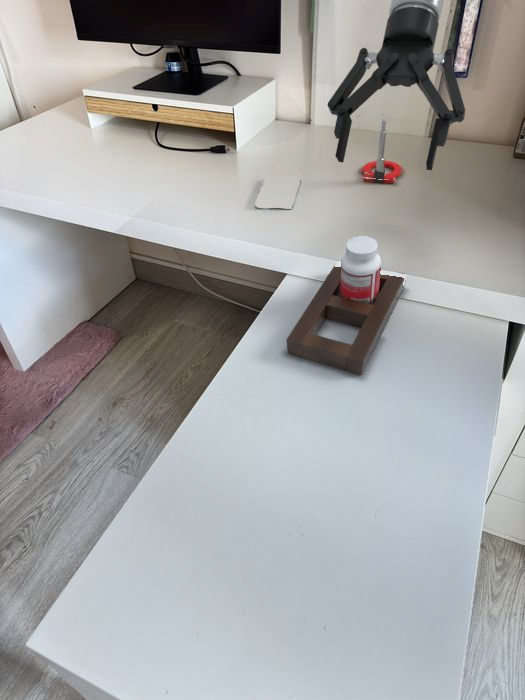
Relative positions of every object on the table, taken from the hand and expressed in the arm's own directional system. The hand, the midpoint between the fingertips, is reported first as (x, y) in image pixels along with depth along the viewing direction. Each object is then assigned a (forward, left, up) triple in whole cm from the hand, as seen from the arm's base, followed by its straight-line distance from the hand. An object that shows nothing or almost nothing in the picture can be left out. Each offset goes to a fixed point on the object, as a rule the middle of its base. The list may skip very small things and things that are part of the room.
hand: (382, 163), depth 76 cm
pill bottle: (-1, +11, -19) cm, 22 cm away
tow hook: (+9, -32, -19) cm, 38 cm away
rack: (-1, +15, -19) cm, 24 cm away
